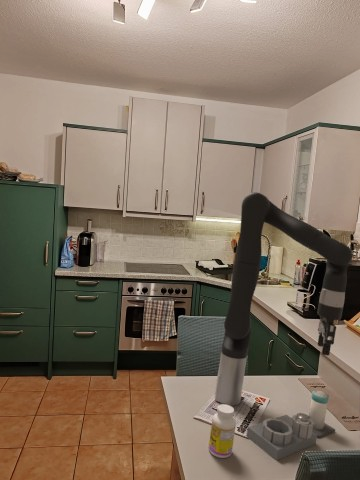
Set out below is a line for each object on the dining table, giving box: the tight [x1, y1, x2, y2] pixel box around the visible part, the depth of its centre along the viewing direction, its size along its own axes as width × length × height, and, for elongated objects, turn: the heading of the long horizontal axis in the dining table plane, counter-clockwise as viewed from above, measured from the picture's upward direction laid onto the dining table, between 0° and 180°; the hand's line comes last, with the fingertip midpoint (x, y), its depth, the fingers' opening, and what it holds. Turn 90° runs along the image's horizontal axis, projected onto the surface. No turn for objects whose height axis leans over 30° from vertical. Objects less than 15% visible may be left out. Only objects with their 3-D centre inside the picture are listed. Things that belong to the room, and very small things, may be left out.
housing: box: [246, 414, 318, 461], centre depth 115 cm, size 18×12×7 cm, turn 124°
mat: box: [312, 422, 336, 439], centre depth 125 cm, size 9×9×1 cm
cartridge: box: [308, 389, 330, 430], centre depth 124 cm, size 5×5×11 cm
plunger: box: [296, 412, 310, 425], centre depth 115 cm, size 4×4×5 cm
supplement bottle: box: [208, 403, 237, 459], centre depth 106 cm, size 7×7×13 cm
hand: (322, 350), depth 125 cm, fingers open, 8 cm apart
